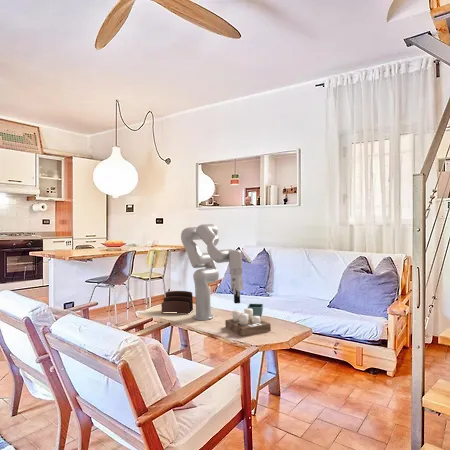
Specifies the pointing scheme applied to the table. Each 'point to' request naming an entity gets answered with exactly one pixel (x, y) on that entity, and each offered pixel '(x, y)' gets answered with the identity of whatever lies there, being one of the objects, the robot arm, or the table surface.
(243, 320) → the button
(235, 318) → the button
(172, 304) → the letter holder
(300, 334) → the table surface
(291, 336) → the table surface
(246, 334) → the board
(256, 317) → the button
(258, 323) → the card
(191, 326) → the table surface
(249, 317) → the button
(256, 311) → the flower pot
